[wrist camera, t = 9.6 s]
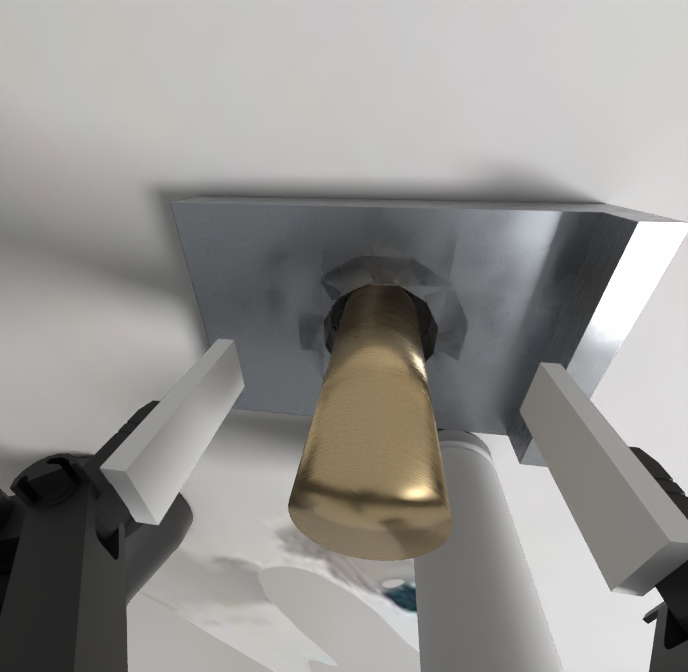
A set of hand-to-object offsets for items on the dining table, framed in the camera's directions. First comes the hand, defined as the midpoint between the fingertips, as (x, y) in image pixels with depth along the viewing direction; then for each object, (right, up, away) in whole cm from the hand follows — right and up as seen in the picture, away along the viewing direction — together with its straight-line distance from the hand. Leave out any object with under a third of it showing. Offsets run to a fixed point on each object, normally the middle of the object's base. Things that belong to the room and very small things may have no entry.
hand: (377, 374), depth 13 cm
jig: (+1, +3, +5) cm, 6 cm away
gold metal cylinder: (+1, +3, +5) cm, 6 cm away
